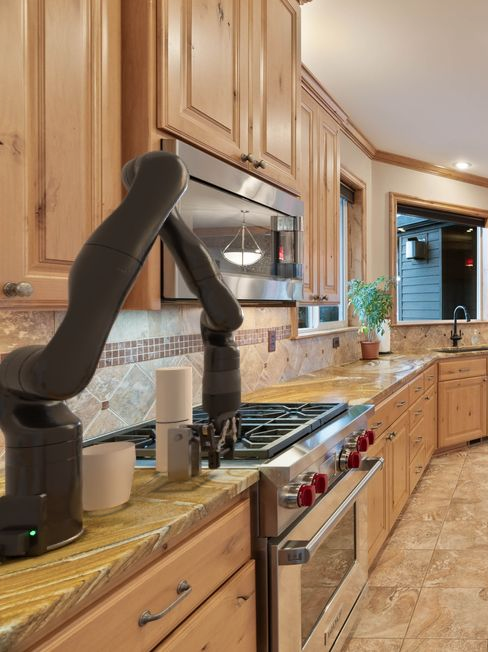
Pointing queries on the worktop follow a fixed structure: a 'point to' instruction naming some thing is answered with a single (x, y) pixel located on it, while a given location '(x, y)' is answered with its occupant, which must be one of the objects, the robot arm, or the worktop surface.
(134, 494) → the worktop surface
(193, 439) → the lever
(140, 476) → the worktop surface
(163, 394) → the cylindrical container
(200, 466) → the bracket
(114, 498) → the cup
